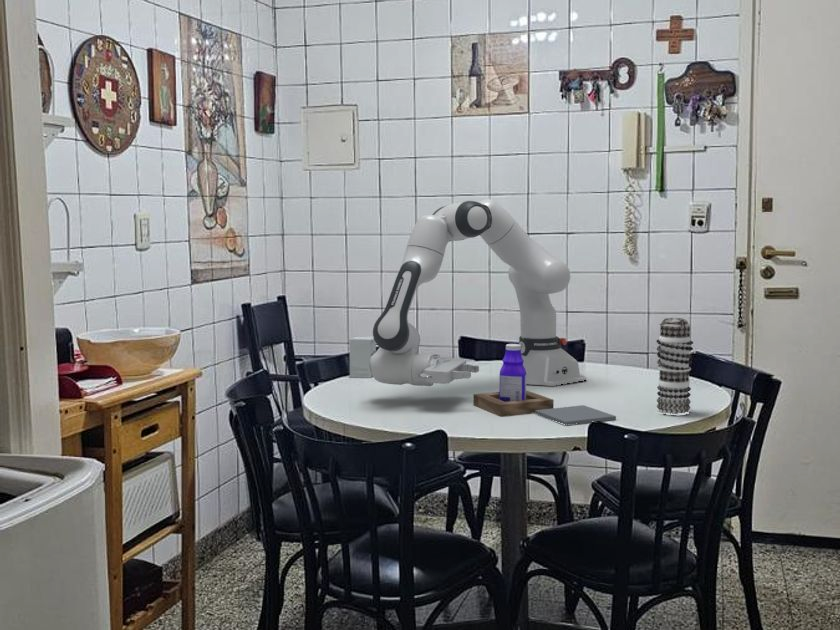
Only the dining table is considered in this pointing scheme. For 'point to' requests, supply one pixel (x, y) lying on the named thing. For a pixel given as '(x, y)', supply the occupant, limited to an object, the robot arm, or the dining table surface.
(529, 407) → the wooden square tray
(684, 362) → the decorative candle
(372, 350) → the supplement box
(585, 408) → the slate mat
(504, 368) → the bottle
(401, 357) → the robot arm
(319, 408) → the dining table surface
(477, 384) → the dining table surface
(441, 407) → the dining table surface
